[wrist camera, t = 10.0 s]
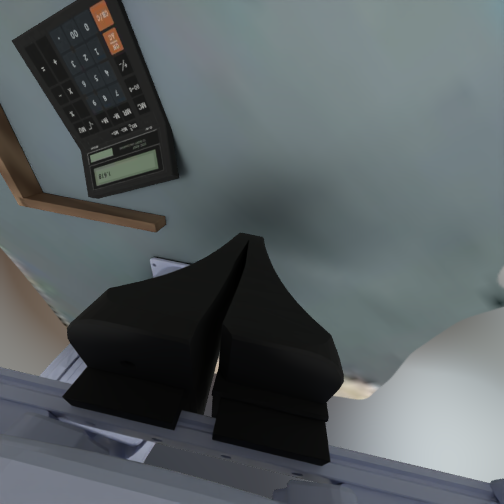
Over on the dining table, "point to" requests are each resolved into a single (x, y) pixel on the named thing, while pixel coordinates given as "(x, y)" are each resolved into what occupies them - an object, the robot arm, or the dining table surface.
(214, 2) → the dining table surface
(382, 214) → the dining table surface
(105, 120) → the calculator
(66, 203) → the brown angled flat piece
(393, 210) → the dining table surface
